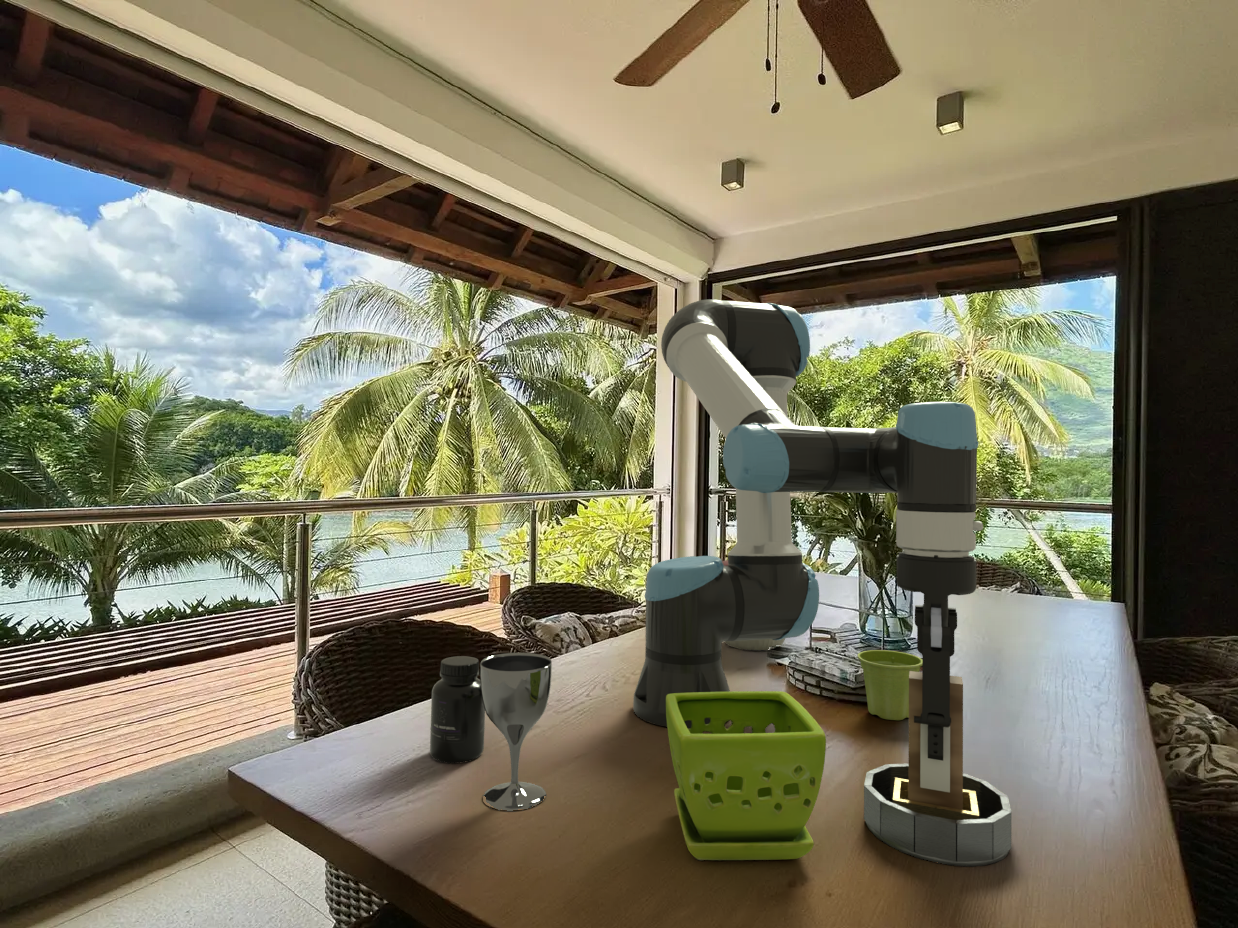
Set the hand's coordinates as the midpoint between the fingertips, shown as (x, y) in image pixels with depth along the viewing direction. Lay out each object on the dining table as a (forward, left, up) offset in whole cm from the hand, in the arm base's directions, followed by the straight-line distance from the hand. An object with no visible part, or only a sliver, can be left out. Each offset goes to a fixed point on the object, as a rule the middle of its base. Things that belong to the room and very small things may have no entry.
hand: (934, 779), depth 72 cm
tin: (0, 0, -5) cm, 5 cm away
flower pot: (-18, -10, -5) cm, 21 cm away
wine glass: (-43, -12, -5) cm, 45 cm away
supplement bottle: (-56, -5, -5) cm, 56 cm away
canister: (-35, +70, -5) cm, 78 cm away
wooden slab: (0, 0, -4) cm, 4 cm away
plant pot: (-6, +36, -5) cm, 37 cm away
